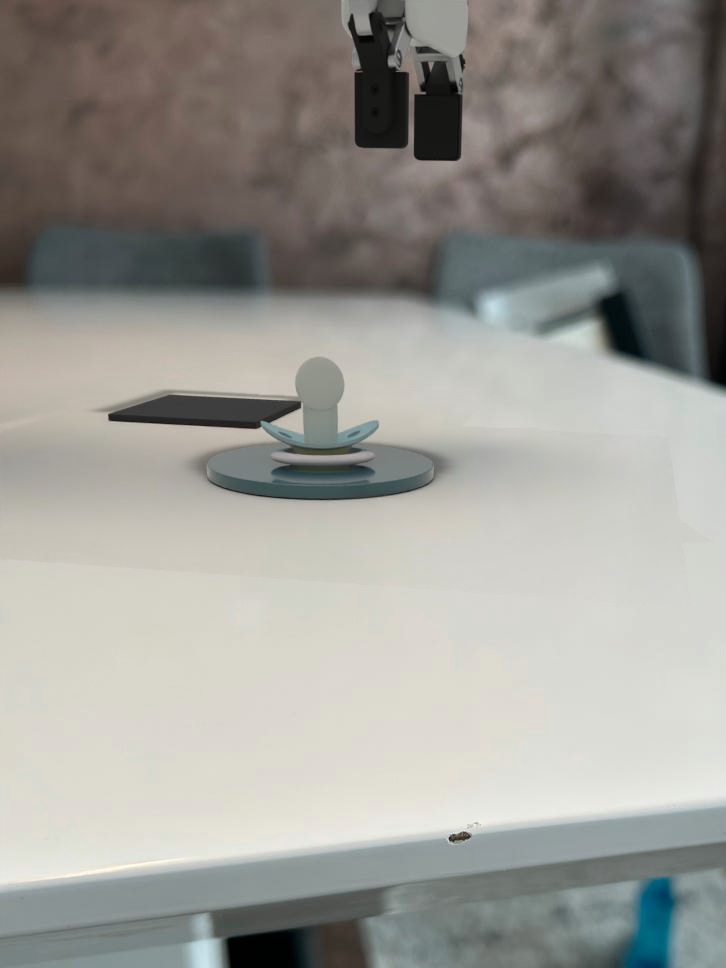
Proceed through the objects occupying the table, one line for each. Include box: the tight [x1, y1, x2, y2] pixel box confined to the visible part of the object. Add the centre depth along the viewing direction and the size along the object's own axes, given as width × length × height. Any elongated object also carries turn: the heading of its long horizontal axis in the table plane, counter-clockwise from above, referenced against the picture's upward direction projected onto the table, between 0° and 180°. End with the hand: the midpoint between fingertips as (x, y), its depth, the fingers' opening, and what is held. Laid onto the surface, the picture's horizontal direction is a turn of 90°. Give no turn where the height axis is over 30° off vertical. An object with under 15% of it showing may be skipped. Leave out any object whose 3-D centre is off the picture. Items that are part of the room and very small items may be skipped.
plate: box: [206, 442, 435, 500], centre depth 69 cm, size 14×14×1 cm
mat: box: [107, 394, 302, 429], centre depth 91 cm, size 12×12×1 cm
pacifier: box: [260, 356, 380, 466], centre depth 68 cm, size 7×6×6 cm
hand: (411, 154), depth 70 cm, fingers open, 9 cm apart
